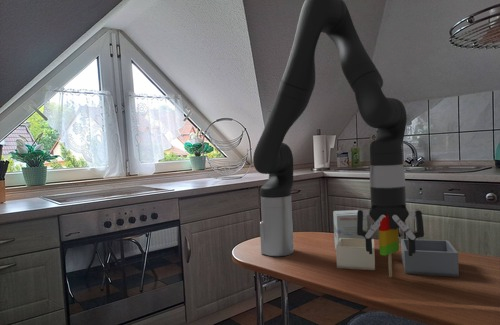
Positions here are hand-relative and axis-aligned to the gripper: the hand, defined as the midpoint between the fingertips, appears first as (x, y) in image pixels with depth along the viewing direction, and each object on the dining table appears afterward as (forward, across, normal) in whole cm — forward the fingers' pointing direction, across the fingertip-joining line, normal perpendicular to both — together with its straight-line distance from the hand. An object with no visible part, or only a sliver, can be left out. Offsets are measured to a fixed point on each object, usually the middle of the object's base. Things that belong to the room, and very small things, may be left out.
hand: (390, 254), depth 82 cm
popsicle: (+6, 0, 0) cm, 6 cm away
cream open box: (+5, -8, +9) cm, 13 cm away
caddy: (+6, +9, +9) cm, 14 cm away
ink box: (+6, -10, +20) cm, 23 cm away
